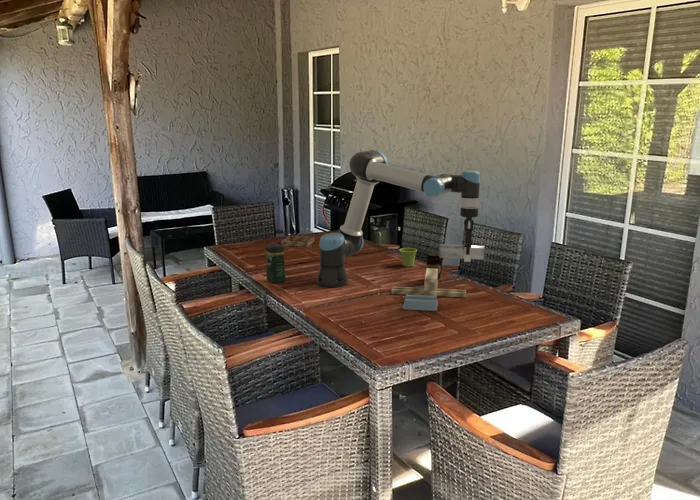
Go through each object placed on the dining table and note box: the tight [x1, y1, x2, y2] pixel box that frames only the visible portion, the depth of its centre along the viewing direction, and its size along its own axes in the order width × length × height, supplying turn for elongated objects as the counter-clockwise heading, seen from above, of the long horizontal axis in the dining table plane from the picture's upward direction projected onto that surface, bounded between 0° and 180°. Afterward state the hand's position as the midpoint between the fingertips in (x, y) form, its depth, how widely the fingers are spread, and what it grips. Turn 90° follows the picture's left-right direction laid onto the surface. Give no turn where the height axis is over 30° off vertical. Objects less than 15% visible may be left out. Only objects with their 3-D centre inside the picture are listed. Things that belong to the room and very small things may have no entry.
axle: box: [439, 243, 486, 260], centre depth 244 cm, size 19×6×6 cm, turn 79°
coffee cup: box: [425, 252, 444, 282], centre depth 272 cm, size 9×8×13 cm
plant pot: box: [399, 247, 418, 268], centre depth 299 cm, size 9×9×9 cm
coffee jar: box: [265, 242, 286, 284], centre depth 272 cm, size 10×8×19 cm
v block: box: [402, 294, 439, 312], centre depth 235 cm, size 14×10×4 cm
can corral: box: [280, 235, 315, 248], centre depth 353 cm, size 17×17×3 cm
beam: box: [391, 267, 467, 298], centre depth 251 cm, size 33×18×10 cm, turn 79°
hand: (467, 259), depth 245 cm, fingers closed on axle, 6 cm apart
